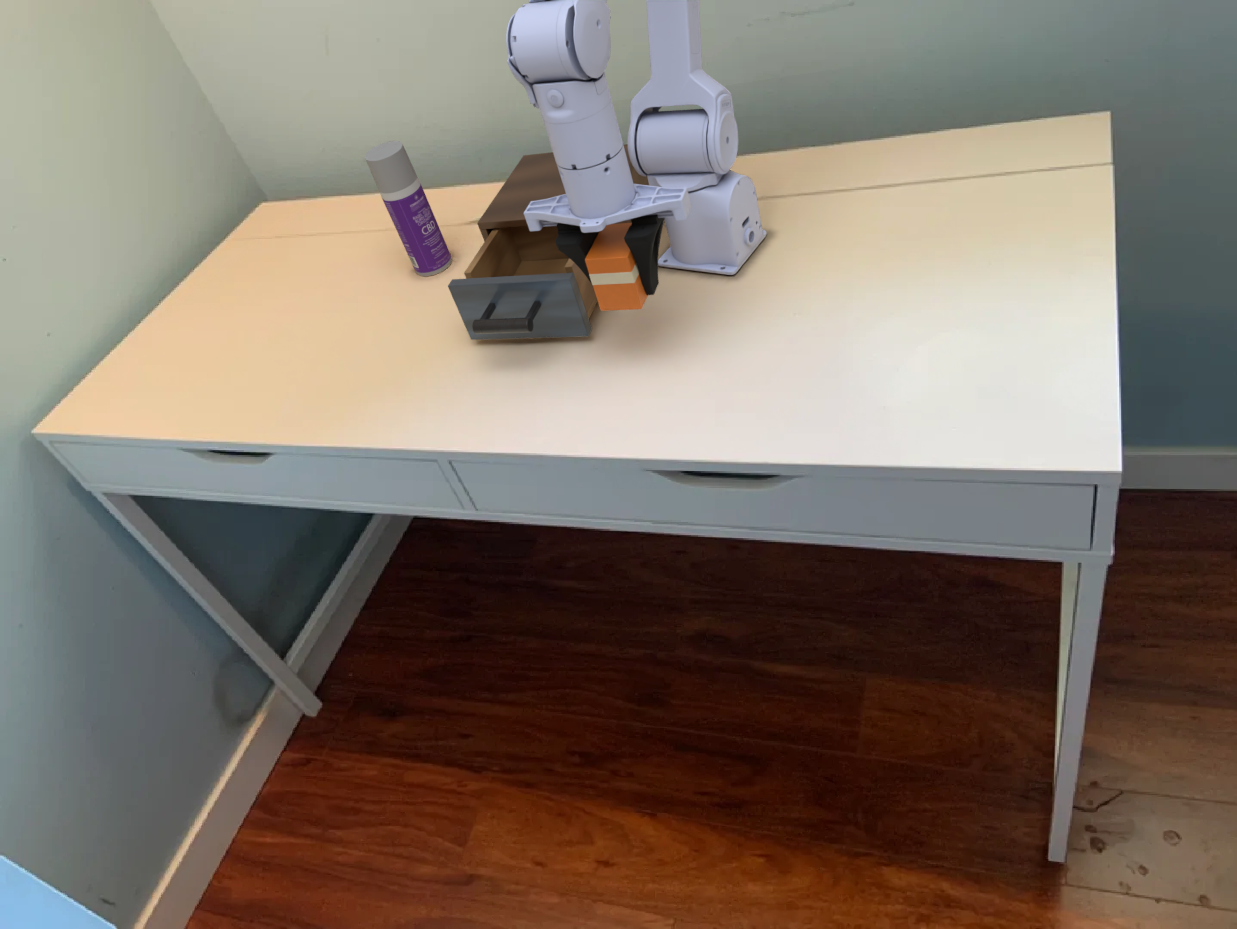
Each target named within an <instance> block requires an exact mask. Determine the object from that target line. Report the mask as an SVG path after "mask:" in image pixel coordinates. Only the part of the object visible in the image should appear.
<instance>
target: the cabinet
mask: <svg viewBox="0 0 1237 929" xmlns="http://www.w3.org/2000/svg"><path fill="white" fill-rule="evenodd" d="M623 145H624V149H625V153H626V157H627V161H628V164H629V168H630V172H631V176H632V180H633V184H641V185H649V182H648V178H647V176H646V177H644V176H641V175H639V174H638V173H637V171H636V170H635V168H634V167H633V165H632V163H631V161H630V158H629V153H628V143H625V144H623ZM563 194H566V192H565V189H564V186H563V183H562V179H561V176H560V173H559V170H558V167H557V163H556V161H555V157H554V154H553V151H551V152H541V153H533V154H525V155H522V157H521V158H520V159H519V161H518V162H517V165H516V166H515V167H514V168H513V170H512V172H511V173H510V174H509V176H508V177H507V179H506V180H505V182H504V183H503V185H502V186H501V188H500V189H499V190H498V192H497V193H496V195H495V197H494V198H493V199H492V201H491V202H490V204H489V205H488V207H487V208H486V209H485V211H484V212H483V214H482V216H481V217H480V218H479V219H478V221H477V227H478V229H479V231H480V235H481V236H482V239H483V241H484V242H485V240H486V239H487V237H488V236H489V234H490V233H491V231H492V230H493V228H506V227H519V226H528V224H527V222H526V219H525V216H524V211H525V210H526V208H527V207H528V205H529V204H530V202H531V201H537V200H543V199H548V198H552V197H556V196H559V195H563ZM622 223H632V222H631V220H626V221H622V222H618V223H614V224H622ZM484 242H483V243H484Z"/></svg>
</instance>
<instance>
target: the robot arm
mask: <svg viewBox="0 0 1237 929" xmlns="http://www.w3.org/2000/svg"><path fill="white" fill-rule="evenodd" d="M607 2H608V0H528V3H523V4H522V5H521V6H520V7H518V9H517V10H516V12H514V13H513V14H512V15H511V16H510V19H509V21H508V23H507V26H506V32H505V33H506V35H505V44H506V51H507V55H508V58H507V60H506V63H507V65H508V68H509V70H510V72H511V74H512V75H513V77H514V78H515V79H516V81H517V82H518V83H519V84H520V85H522V87H523V88H524V89H525V91H526V95H527V97H528V100H529V103H530V105H532V107H534V108H536V109H538V110H539V113H540V116H541V118H542V122H543V125H544V128H545V131H546V134H547V138H548V141H549V144H550V148H551V152H553V154H554V157H555V161H556V163H557V167H558V170H559V173H560V176H561V179H562V183H563V186H564V189H565V192H566V194H563V195H559V196H556V197H552V198H548V199H543V200H537V201H531V202H530V204H529V205H528V207H527V208H526V210H525V211H524V216H525V219H526V222H527V224H528V227H529V230H530V231H540V230H541V229H542V227H546V226H557V228H558V237H557V238H556V240H555V243H556V246H557V248H558V250H559V251H561V252H562V253H564V254H565V255H566V256H568V257H569V258H570V259H571V260H572V261H573V262H574V263H575V264H576V265H577V266H578V267H579V268H580V269H581V270H582V272H583V273H584V274H585V276H586V277H587V278H588V280H589V281H590V283H591V284H592V282H591V279H590V276H589V272H588V268H587V265H586V262H585V258H586V256H587V254H588V252H589V251H590V249H591V247H592V245H593V243H594V241H595V239H596V237H597V235H598V234H599V232H600V231H602V230H603V229H604V228H605V226H606V225H610V224H614V223H618V222H622V221H626V220H631V222H632V224H631V226H630V227H629V229H628V231H627V233H626V235H625V237H624V240H625V243H626V244H627V246H628V247H629V249H630V251H631V253H632V255H633V257H634V259H635V262H636V264H637V267H638V270H639V274H640V278H641V282H642V285H643V288H644V290H645V293H646V295H648V296H654V295H655V293H656V291H657V288H658V286H659V284H660V281H659V267H662V268H663V267H664V268H669V269H670V268H671V269H677V270H678V269H679V270H687V271H695V272H703V273H711V274H721V275H726V276H733V275H735V274H737V273H738V271H739V270H740V269H741V267H742V266H743V265H744V264H745V263H746V262H747V260H748V259H749V258H750V257H751V255H752V254H753V253H754V251H755V250H756V249H757V248H758V247H759V245H760V244H761V243H762V241H763V240H764V239H765V238H766V236H767V234H768V233H767V230H765V229H763V225H762V220H761V213H760V207H759V202H758V196H757V190H756V186H755V183H754V181H753V180H752V178H751V177H749V176H748V175H745V174H741V173H737V172H735V171H733V170H731V168H732V167H733V166H734V165H735V163H736V160H737V156H738V150H739V130H738V124H737V120H736V118H735V111H734V104H733V103H734V102H733V97H732V93H731V91H729V90H728V89H727V88H726V87H725V86H724V85H723V84H721V83H720V82H719V81H717V80H716V79H714V78H713V77H712V76H711V75H709V74H708V73H706V71H704V70H703V56H702V54H703V52H702V33H701V10H700V7H701V6H700V0H645V2H646V3H645V4H646V20H647V35H648V50H649V66H650V78H649V79H648V81H647V82H646V83H645V84H644V85H643V86H642V88H641V89H639V91H638V92H637V93H636V94H635V95H634V96H633V97H632V98H631V100H630V102H629V103H630V109H629V110H630V111H629V112H630V113H629V114H630V116H629V117H630V120H629V128H628V132H627V144H628V153H629V158H630V161H631V163H632V165H633V167H634V168H635V170H636V171H637V173H638V174H639V175H641V176H644V177H646V176H647V178H648V182H649V185H641V184H633V180H632V176H631V172H630V168H629V164H628V161H627V157H626V153H625V149H624V145H625V144H624V142H623V137H622V134H621V131H620V127H619V122H618V119H617V115H616V111H615V108H614V103H613V99H612V95H611V92H610V88H609V84H608V80H607V76H606V69H607V66H608V64H609V62H610V58H611V51H612V50H611V48H612V43H611V42H612V40H611V30H610V23H611V18H612V17H611V8H610V7H609V5H608V4H607ZM691 105H692V106H698V107H700V108H691V109H690V108H689V109H674V110H661V109H662V108H663V107H676V106H691ZM664 225H665V228H666V233H667V237H668V241H669V247H668V248H667V249H666V250H665V252H664V253H663V254H662V255H661V256H660V258H659V252H660V242H661V237H662V231H663V227H664ZM592 286H593V285H592Z"/></svg>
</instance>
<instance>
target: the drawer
mask: <svg viewBox="0 0 1237 929" xmlns="http://www.w3.org/2000/svg"><path fill="white" fill-rule="evenodd" d="M557 237H558V228H557V226H546V227H542V229H541V230H540V231H530V230H529V227H528V226H519V227H506V228H493V230H492V231H491V233H490V234H489V236H488V237H487V239H486V240H485V242H483V244H481V247H479V249H478V251H477V253H476V254H475V255H474V257H473V258H472V260H471V261H470V263H469V265H468V266H467V267H466V269H465V270H464V272H463V274H464V277H465V278H452V279H451V280H450V282H449V283H448V285H447V288H448V290H449V292H450V296H451V297H452V299H453V302H454V304H455V307H456V309H457V311H458V313H459V315H460V317H461V320H462V323H463V324H464V327H465V329H466V331H467V334H468V336H469V338H470V341H479V340H480V341H481V340H511V339H512V340H513V339H514V340H515V339H547V338H548V339H550V338H580V337H584V338H585V337H590V335H591V333H592V330H593V328H592V324H591V322H590V318H591V315H592V313H593V311H594V309H595V307H596V305H597V304H598V300H597V297H596V294H595V291H594V287H593V286H592V284H591V283H590V281H589V280H588V278H587V277H586V276H585V274H584V273H583V272H582V270H581V269H580V268H579V267H578V266H577V265H576V264H575V263H574V262H573V261H572V260H571V259H570V258H569V257H568V256H566V255H565V254H564V253H562V252H561V251H559V250H558V248H557V246H556V243H555V240H556V238H557Z"/></svg>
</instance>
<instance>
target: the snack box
mask: <svg viewBox="0 0 1237 929" xmlns="http://www.w3.org/2000/svg"><path fill="white" fill-rule="evenodd" d="M631 224H632V223H622V224H610V225H606V226H605V228H604V229H603V230H602V231H600V232H599V234H598V235H597V237H596V239H595V241H594V243H593V245H592V247H591V249H590V251H589V252H588V254H587V256H586V258H585V262H586V265H587V268H588V272H589V276H590V279H591V282H592V285H593V287H594V291H595V294H596V297H597V300H598V301H597V304H598V306H599V309H600V311H601V312H603V311H605V312H606V311H630V310H631V311H632V310H634V311H635V310H643V307H644V305H645V303H646V301H647V298H648V296H649V295H646V293H645V290H644V288H643V285H642V282H641V278H640V274H639V270H638V267H637V264H636V262H635V259H634V257H633V255H632V253H631V251H630V249H629V247H628V246H627V244H626V243H625V240H624V237H625V235H626V233H627V231H628V229H629V227H630V226H631Z"/></svg>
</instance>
